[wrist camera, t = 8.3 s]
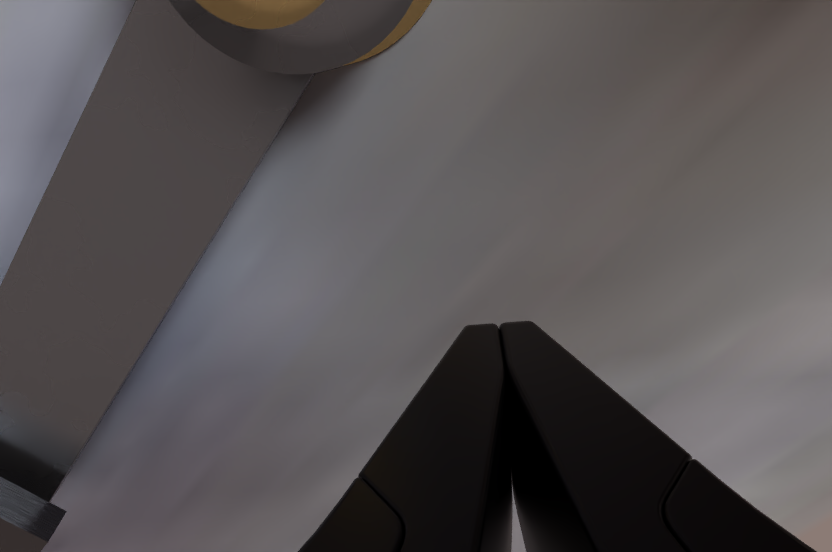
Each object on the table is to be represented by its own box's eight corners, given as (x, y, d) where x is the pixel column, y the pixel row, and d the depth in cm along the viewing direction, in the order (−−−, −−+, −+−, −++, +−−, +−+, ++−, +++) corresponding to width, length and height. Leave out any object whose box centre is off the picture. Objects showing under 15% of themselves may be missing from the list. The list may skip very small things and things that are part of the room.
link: (258, -296, 15) (221, -336, 13) (482, -115, 17) (490, -117, 14) (-75, 421, 25) (-135, 481, 22) (86, 497, 26) (48, 562, 24)
